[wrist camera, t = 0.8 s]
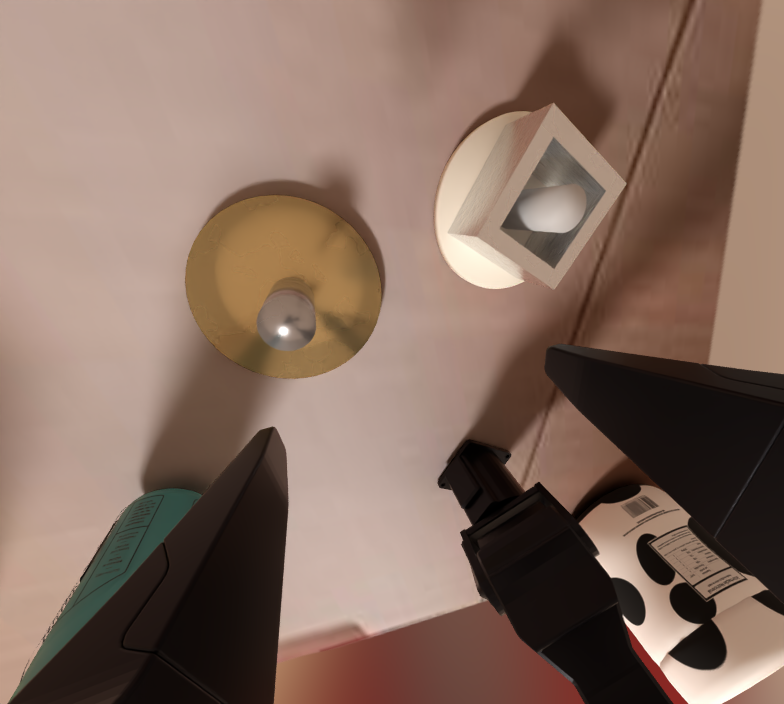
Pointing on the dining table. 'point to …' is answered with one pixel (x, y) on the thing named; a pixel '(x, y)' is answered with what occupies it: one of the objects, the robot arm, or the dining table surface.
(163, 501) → the beverage bottle
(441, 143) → the dining table surface
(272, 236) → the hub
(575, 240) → the collar
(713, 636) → the milk container
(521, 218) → the stand
